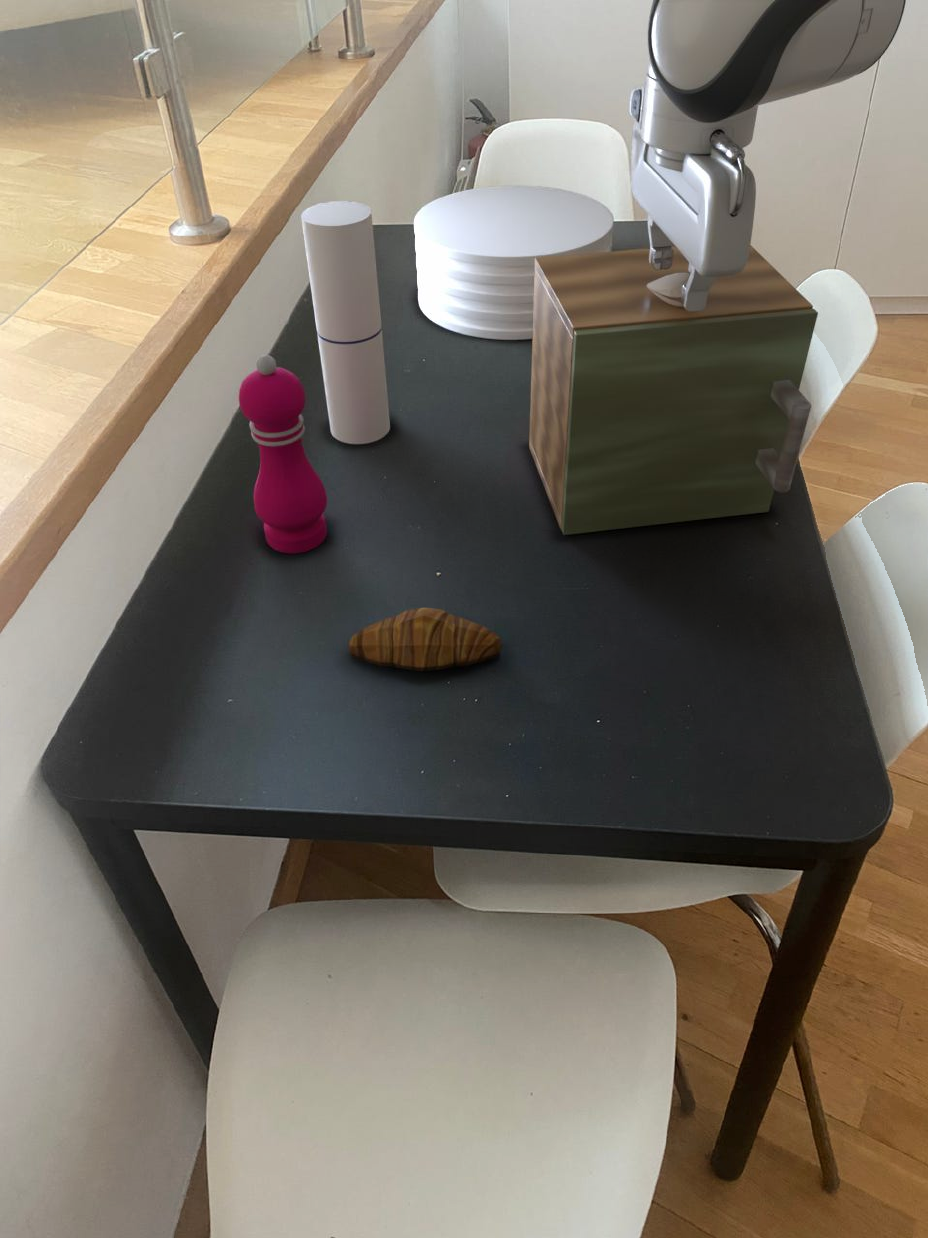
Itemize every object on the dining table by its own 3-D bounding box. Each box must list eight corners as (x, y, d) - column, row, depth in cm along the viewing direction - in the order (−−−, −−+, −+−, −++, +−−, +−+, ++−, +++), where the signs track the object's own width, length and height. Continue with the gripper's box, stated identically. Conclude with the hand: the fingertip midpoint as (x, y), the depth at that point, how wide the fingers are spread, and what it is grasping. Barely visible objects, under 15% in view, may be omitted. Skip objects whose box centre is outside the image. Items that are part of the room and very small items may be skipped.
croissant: (345, 685, 79) (339, 643, 76) (354, 631, 84) (348, 590, 81) (502, 684, 79) (503, 643, 76) (501, 630, 84) (501, 589, 81)
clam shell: (695, 315, 81) (699, 287, 79) (639, 308, 82) (642, 280, 81) (704, 296, 84) (708, 268, 82) (650, 289, 85) (653, 262, 84)
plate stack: (488, 247, 151) (488, 173, 144) (640, 285, 139) (649, 206, 131) (380, 309, 135) (373, 229, 127) (541, 358, 123) (544, 273, 115)
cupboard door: (789, 542, 92) (845, 339, 78) (575, 567, 90) (592, 363, 75) (765, 507, 97) (814, 308, 82) (561, 530, 95) (573, 330, 80)
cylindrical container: (323, 441, 108) (292, 224, 91) (339, 410, 114) (312, 199, 97) (382, 446, 107) (361, 227, 90) (395, 414, 113) (378, 202, 96)
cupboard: (764, 507, 97) (813, 305, 82) (560, 529, 95) (573, 327, 80) (711, 428, 109) (746, 239, 94) (529, 447, 106) (534, 257, 92)
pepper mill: (343, 521, 97) (319, 343, 83) (313, 563, 92) (282, 380, 78) (281, 509, 99) (248, 333, 85) (248, 549, 94) (207, 368, 80)
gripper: (791, 150, 65) (753, 334, 75) (694, 81, 80) (673, 242, 90) (705, 157, 65) (678, 341, 74) (624, 86, 80) (610, 247, 89)
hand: (675, 286), depth 82 cm, fingers open, 8 cm apart
